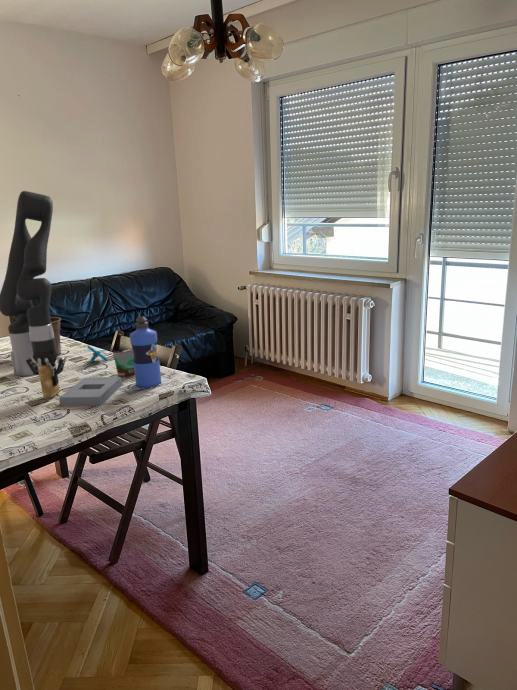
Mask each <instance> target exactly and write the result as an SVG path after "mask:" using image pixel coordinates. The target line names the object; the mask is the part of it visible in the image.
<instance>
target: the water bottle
mask: <svg viewBox="0 0 517 690" xmlns="http://www.w3.org/2000/svg"><path fill="white" fill-rule="evenodd" d="M147 320H148V318H146V317H145V316H143V315H139V316H138V317H136V319H135V321H136V323H135V328H136V329H135V330H134V331H133V332H130V334H129V342H130V345H131V348H132V349H133V354H134V362H133V363H134V372H135V376H134V378H135V379H134V380H135V386H137V387H136V388H138V389H143V388H146V389H152V388H151V387H153V388H156V387H155V386H157V385H159V384H161V385H162V383H161V382H162V374H161V365H160V358H159V354H158V333H157V331H156V330H153V329H151V328H149V322H148V321H147ZM159 386H160V385H159ZM157 387H158V386H157Z"/></svg>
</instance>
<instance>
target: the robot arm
mask: <svg viewBox="0 0 517 690" xmlns="http://www.w3.org/2000/svg"><path fill="white" fill-rule="evenodd" d="M16 204H17V205H16V212H15V220H14V230H13V236H12V241H11V244H10V245H11V246H10V249H9V254H8V261H7V266H6V273H5V277H4V280H3V283H2V286H1V289H0V290H1V291H0V313H1V314H2V316H5V317H14V316H17V318H16V319H15V320H14V321H13V322H12V323H11V324H9V325H8V328H7V329H8V334H9V340H10V345H11V351H10V359H11V363H12V364H11V365H12V368H13V369H12V370H13V374H14V376H19V377H20V376H21V377H26V376H38V377H40V375H39V369H38V367H39V366H41V365H49V370H50V373H51V376H52V377H51V378H52V384H53V386H57V384H58V383H59V375H60V374H61V373H63V371H64V367H65V363H66V360H67V358H66V357H65V356H59V355H58V354H57V352H56V344H55V338H54V332H53V327H52V324H51V318H50V317H51V313H50V306H51V304H50V303H51V298H52V297H51V296H52V283H51V282H50V280H48V279H47V278H45V277H39V276H42V275H44V274H46V272H47V256H48V255H47V253H48V245H49V244H48V243H49V239H50V232H51V227H52V218H53V212H54V211H53V210H54V206H53V205H54V203H53V199H52V197H50V196H49V195H45V194H41V193H37V192H32V191H27V190H22V191H21V192H20V193H19V196H18V198H17V202H16ZM26 220H31V221H36V222H37V221H38V222H40V226H39V229H38V230H37V231H36V232H35V233H34V234H33V236H31V234H30V232H29V229H28V227H27V223H26ZM36 277H37V278H36ZM39 300H40V302H39V304H38V305H35V306H33V301H39ZM56 362H57V363H56ZM52 365H53V366H52Z"/></svg>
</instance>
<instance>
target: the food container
mask: <svg viewBox="0 0 517 690" xmlns="http://www.w3.org/2000/svg"><path fill="white" fill-rule="evenodd" d="M112 359H114V363H115V367H116V368H115V369H116V373H117V377H121V378H129V377H130V376H131V377H135V376H134V375H135V372H134V363H133V362H134V354H133V349H132V347H131V348H127V349H124V350H122V351H120V352H114V351H113V352H112ZM131 377H130V378H131Z"/></svg>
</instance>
